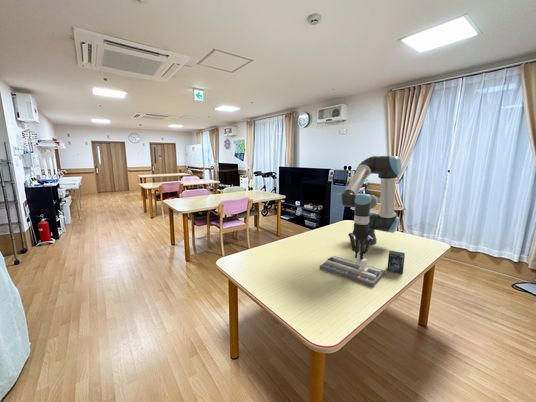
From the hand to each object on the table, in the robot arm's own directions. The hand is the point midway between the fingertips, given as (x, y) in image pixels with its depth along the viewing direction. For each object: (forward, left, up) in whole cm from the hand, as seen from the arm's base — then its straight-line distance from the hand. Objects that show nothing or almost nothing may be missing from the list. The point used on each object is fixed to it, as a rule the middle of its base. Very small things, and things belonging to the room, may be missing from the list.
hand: (358, 264), depth 131 cm
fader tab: (0, +3, -3) cm, 4 cm away
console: (0, -4, -5) cm, 7 cm away
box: (-17, +14, -6) cm, 23 cm away
